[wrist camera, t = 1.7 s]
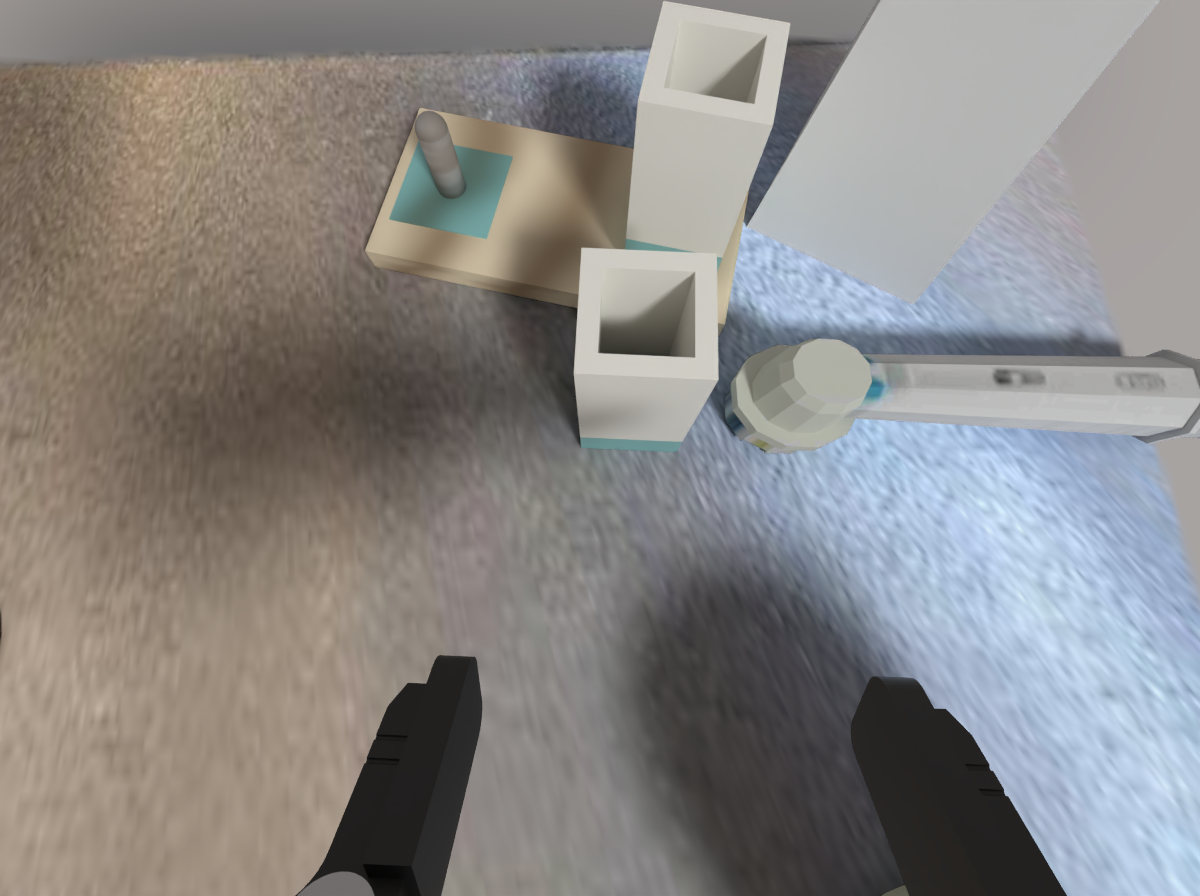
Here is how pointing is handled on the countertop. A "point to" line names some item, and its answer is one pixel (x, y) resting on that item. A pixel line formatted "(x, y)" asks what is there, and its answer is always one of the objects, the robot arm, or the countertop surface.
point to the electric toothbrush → (957, 393)
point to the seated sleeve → (701, 126)
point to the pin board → (509, 209)
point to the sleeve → (644, 346)
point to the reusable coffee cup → (897, 892)
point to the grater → (934, 128)
